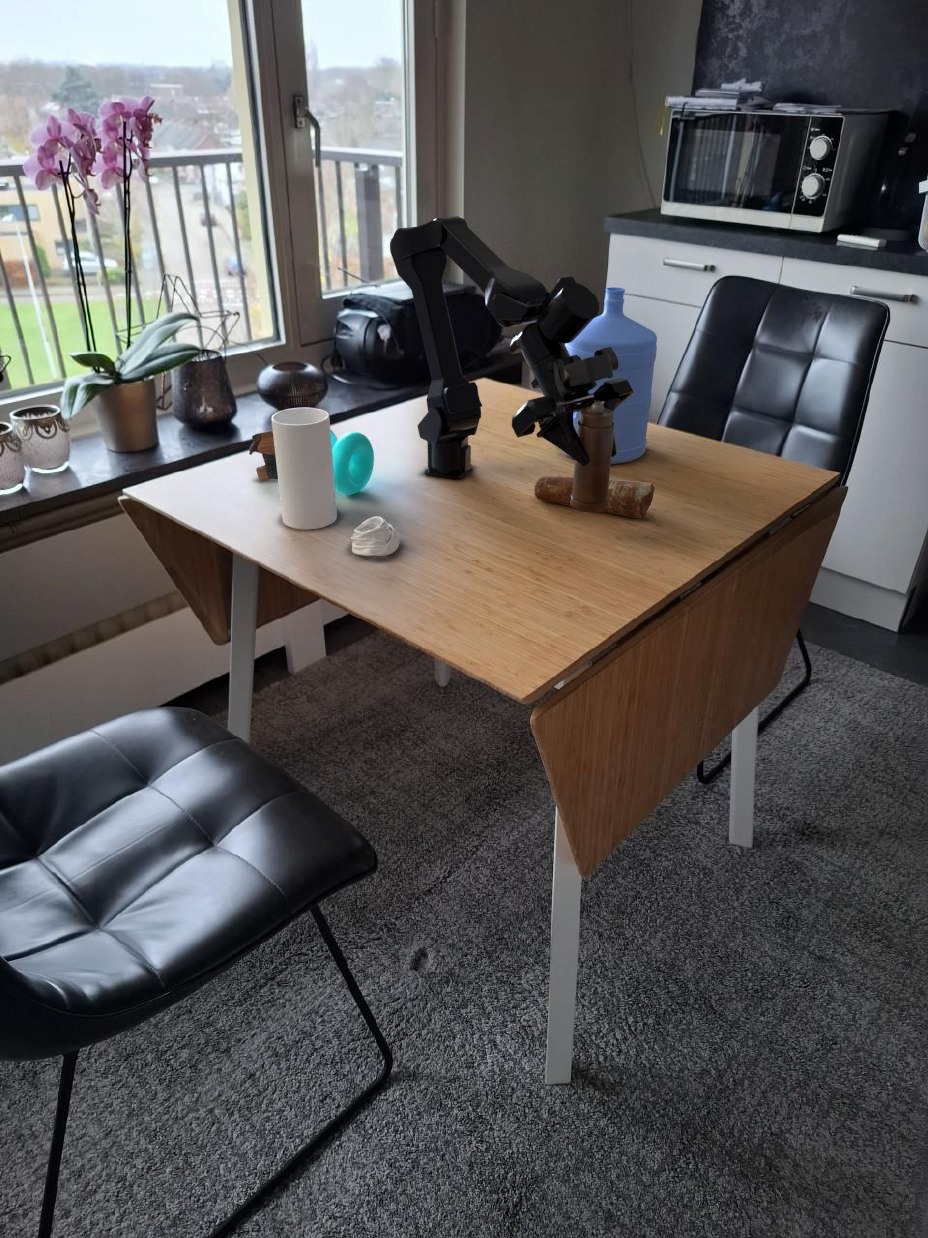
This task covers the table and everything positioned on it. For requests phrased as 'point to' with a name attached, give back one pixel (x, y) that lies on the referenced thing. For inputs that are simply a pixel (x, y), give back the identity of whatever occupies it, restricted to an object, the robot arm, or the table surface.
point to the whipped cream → (374, 538)
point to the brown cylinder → (621, 493)
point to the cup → (305, 467)
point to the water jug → (622, 371)
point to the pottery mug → (265, 455)
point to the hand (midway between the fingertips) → (600, 460)
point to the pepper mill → (594, 459)
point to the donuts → (351, 462)
